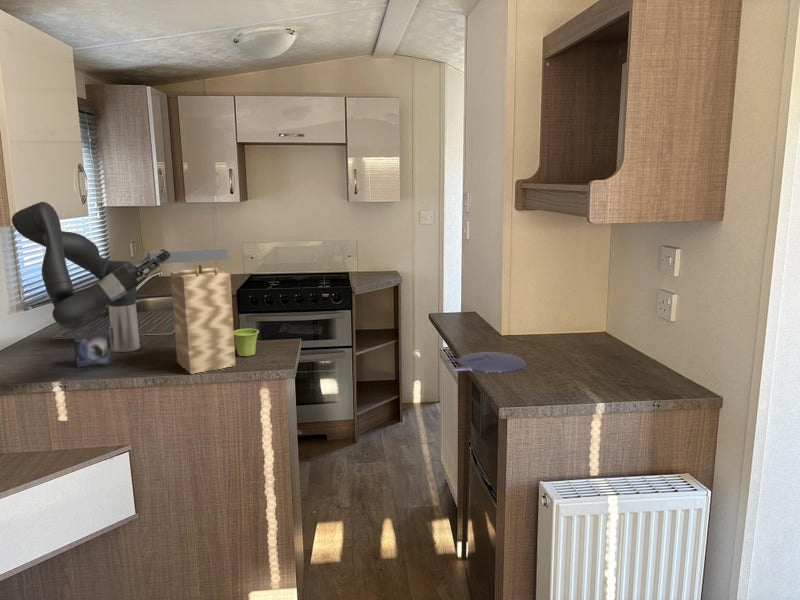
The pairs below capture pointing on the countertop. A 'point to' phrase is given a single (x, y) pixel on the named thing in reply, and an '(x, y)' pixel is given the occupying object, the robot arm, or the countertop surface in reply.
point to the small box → (92, 349)
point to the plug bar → (192, 255)
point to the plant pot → (245, 341)
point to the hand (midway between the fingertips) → (166, 252)
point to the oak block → (203, 319)
